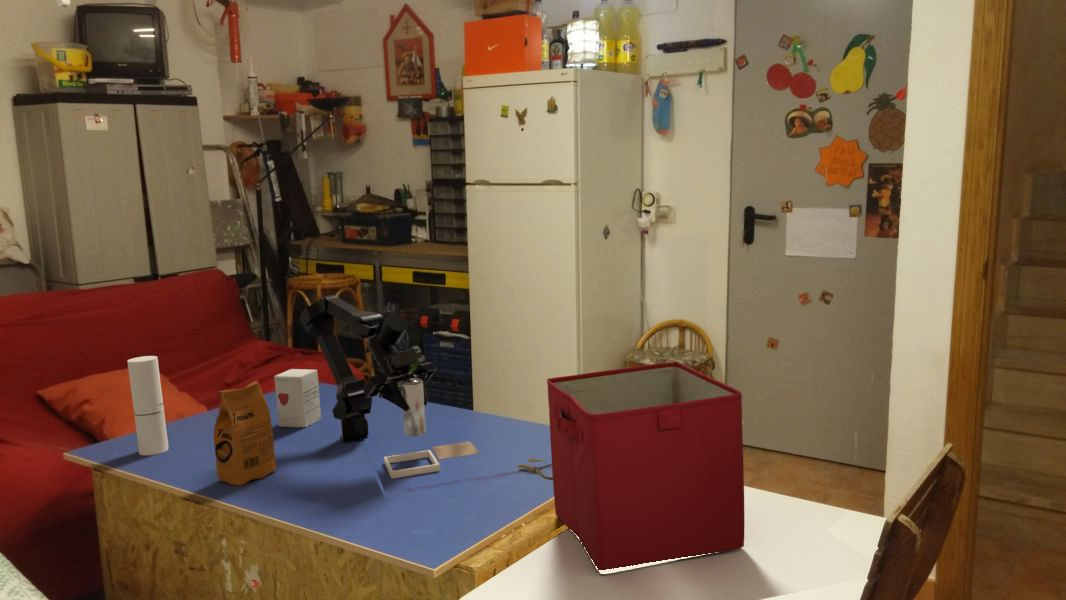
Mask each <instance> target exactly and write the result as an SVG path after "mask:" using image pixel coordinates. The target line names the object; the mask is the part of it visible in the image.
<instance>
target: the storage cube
mask: <svg viewBox="0 0 1066 600" xmlns="http://www.w3.org/2000/svg"><path fill="white" fill-rule="evenodd" d="M546 384H547V398H548V412H549V413H548V414H549V416H548V417H549V434H550V436H549V437H550V440H549V441H550V452H551V453H550V454H551V464H552V465H551V471H552V473H551V474H552V477H553V479H552V486H553V496H554V512H555V516H556V517H557V518H558V519H559V520H560V521H561V522H562V523H563V524H564V525H565V527H567V528H568V530H570V529H571V530H572V531H573V532H574V533H575V534H576V535H577V536H578V537H579V539H580V541H581V542H582V544H583V546H584V547H585V549H586V551H587V552H588V554H589V556H590V558H591V559H592V560H593V562H594V564H595V566H597V568H598V570H606V569H612V568H613V569H614V568H619V567H626V566H631V565H632V566H633V565H638V564H643V563H649V562H656V561H662V560H668V559H675V558H681V557H688V556H696V555H702V554H708V553H715V552H721V553H724V552H723V551H726V552H729V551H728V550H731V551H734V550H733V549H735V550H738V549H741V548H744V547H745V526H746V524H745V477H744V476H745V475H744V473H745V472H744V470H745V469H744V446H743V445H744V439H743V403H742V398H743V397H742V396H743V394H742V392H741V391H740V390H738V389H736V388H735V387H733V386H731V385H728V384H727V383H726V384H725V383H724V382H722V381H719V380H717V379H715V378H713V377H710V376H709V375H707V374H704V373H702V372H700V371H698V370H695V369H694V368H692V367H690V366H688V365H686V364H685V363H682V362H680V361H671V362H670V361H669V362H660V363H659V362H658V363H652V364H645V365H637V366H630V367H629V366H628V367H622V368H621V367H620V368H615V369H608V370H601V371H594V372H593V371H592V372H586V373H579V374H573V375H566V376H565V375H564V376H557V377H552V378H551V377H550V378H549V377H548V378H547V379H546ZM583 546H582V547H583Z"/></svg>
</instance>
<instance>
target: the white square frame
mask: <svg viewBox="0 0 1066 600" xmlns="http://www.w3.org/2000/svg"><path fill="white" fill-rule="evenodd" d="M431 450H432V449H428V450H421V451H413V452H407V453H400V454H394V455H393V454H392V455H388V456H383V460H384V461H383V462H384V465H385V467H386V470H387V472H388V474H389V477H390V478H391V479H397V478H402V477H410V476H416V475H421V474H422V475H423V474H428V473H435V472H440V471H441V467H440V462H438V460H437V458H436V457H435V455H434V453H433V452H432V451H431ZM425 458H428V459H429V460H430V462H431V464H427V465H421V466H416V467H415V466H414V467H411V468H410V467H409V468H402V469H396V470H395V469H394V470H393V467H392V466H391V463H392V464H393V463H400V462H405V461H407V462H408V461H412V460H419V459H425Z"/></svg>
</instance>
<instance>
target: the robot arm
mask: <svg viewBox="0 0 1066 600" xmlns="http://www.w3.org/2000/svg"><path fill="white" fill-rule="evenodd" d="M336 319H337V320H339V321H341V322H343V323H344V324H345V325H347V326H349V328H350V332H351V333H352V334H353V335H354V336H355V337H356V338H358V339H359V340H366V339H369V338H371V339H370V340H369V341H367V342H366V345H365V349H364V352H365V354H371V355H372V357H373V358H374V360H375V362H376V363H377V365H378V366H377V367H376V370H377V372H378V373H379V372H382V373H380V374H376V375H372V376H370V377H369V378H368V380H367V381H366V380H365V379H364V378H361V379H358V378H356V377H355V374H354V373H353V370H352V368H351V365H350V364H349V362H348V360H347V357H346V355H345V353H344V351H343V349H342V347H341V345H340V342H339V341H338V340H339V339H338V338H337V336H336V333H335V325H336ZM299 322H300V323H301V325H302V327H303V328H304V330H305V332H306V334H308V335H309V336H310V337H312V338H314V339H315V340H316V341H317V343H318V345H319V348H320V349H321V352H322V354H323V356H324V359H325V361H326V362H327V365H328V368H329V369H330V372H331V374H332V377H333V378H334V380H335V383H336V384H337V385H336V386H337V388H336V395H335V398H336V404H335V405H334V406H333V408H332V409H331V410H332V415H333V418H334V419H336V420H340V429H341V430H340V431H341V434H340V438H341V440H342V443H350V442H357V441H363V440H365V439H368V438H369V437H368V436H369V423H368V419H367V418H366V415H367V414H370V413H371V412H372V411H371V410H372V405H373V404H372V403H373V398H374V397H377V396H378V398H379V399H381V398H382V399H385V400H386V401H388V402H390V403H392V404H394V405H395V406H397V407H398V408H400V409H401V410H402V411H403V410H404V411H408V409H409V408H408V406H407V404H406V402H405V400H404V398H403V397H402V392H400V390H399V385H398V384H401V383H402V381H403V380H405V379H410V378H419V379H422V381H423V390H424V407H426V406H427V404H428V399H427V394H426V388H425V387H426V386H425V384H426V383H428V382H429V381H430V380H431V379H432V377H433V376H434V374H435V372H436V371H437V368H436V366H435V364H434V363H433V362H431V361H428V362H424V363H420V364H418V365H417V366H416V368H415V369H414V370H413V371H410V370H412V368H413V367H414V366H413V364H414V363H419V362H420V359H422V358H423V352H422V349H421V348H420V347H419V345H415V346H414V345H413V346H411V347H409V348H408V349H407V350H404V351H398V350H397V348H396V347H395V346H396V345H398V344H399V342H400V340H401V339H402V337H403V336H404V335H405V333H406V331H407V330H408V327H409V323H408V320H407V319H406V318H405V317H403V316H401V315H400V314H397V313H395V312H394V310H387V311H385V312H384V314H383V315H381V314H380V313H379V312H374V311H365V310H360V309H359V308H358V307H356V306H354V305H352V304H350V303H349V302H347V301H345V300H343V299H341V297H340V296H339V295H336V294H331V295H326V296H321V298H318V300H317V301H316V302H313V303H312V304H310V305H308V306H307V307H305V308H304V309H302V312H301V313H300V315H299Z"/></svg>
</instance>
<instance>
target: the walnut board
mask: <svg viewBox="0 0 1066 600" xmlns="http://www.w3.org/2000/svg"><path fill="white" fill-rule="evenodd" d="M430 447H431V450H432V451H433V453H434V454H435V455H436V457H437V459H438V460H446V459H452V458H458V457H465V456H471V455H479V454H480V452H479V451H478V449H477V448H476V447H475V445H474V444H473V443H472V442H471V441H470V440H469V441H464V442H456V443H450V444H443V445H436V446H430Z"/></svg>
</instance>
